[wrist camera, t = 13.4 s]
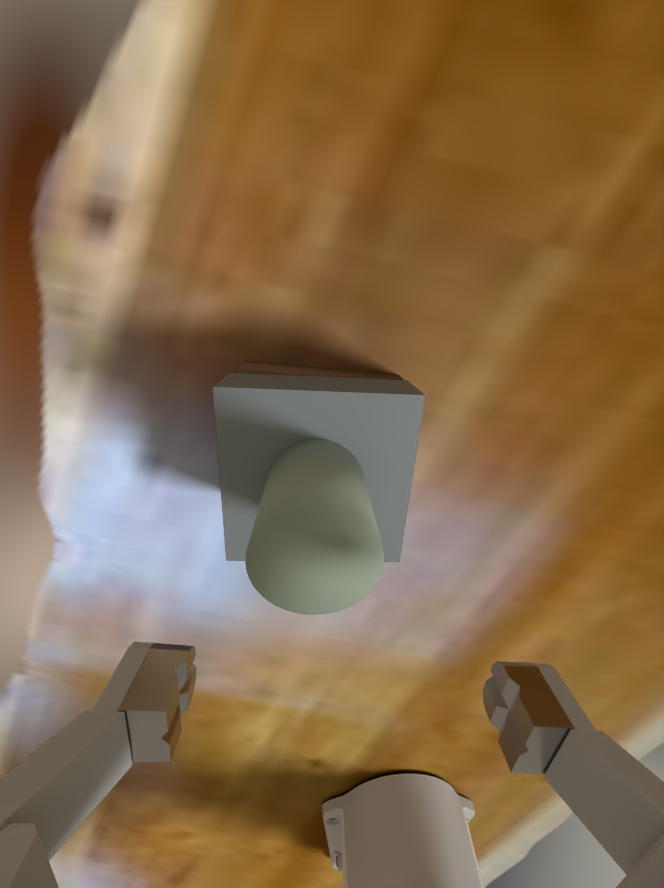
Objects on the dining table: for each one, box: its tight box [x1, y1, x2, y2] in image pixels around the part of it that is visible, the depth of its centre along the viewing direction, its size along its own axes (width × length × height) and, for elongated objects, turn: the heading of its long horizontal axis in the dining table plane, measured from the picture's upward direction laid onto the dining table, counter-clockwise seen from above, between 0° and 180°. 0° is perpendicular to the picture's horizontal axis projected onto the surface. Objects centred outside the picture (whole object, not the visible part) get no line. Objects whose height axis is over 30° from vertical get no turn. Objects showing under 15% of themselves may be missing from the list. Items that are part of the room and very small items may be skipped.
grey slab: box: [213, 373, 425, 562], centre depth 20 cm, size 10×10×4 cm
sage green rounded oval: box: [245, 439, 384, 615], centre depth 15 cm, size 5×5×6 cm
